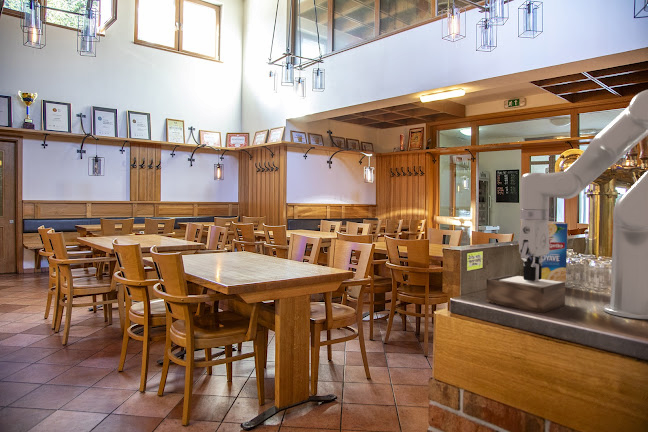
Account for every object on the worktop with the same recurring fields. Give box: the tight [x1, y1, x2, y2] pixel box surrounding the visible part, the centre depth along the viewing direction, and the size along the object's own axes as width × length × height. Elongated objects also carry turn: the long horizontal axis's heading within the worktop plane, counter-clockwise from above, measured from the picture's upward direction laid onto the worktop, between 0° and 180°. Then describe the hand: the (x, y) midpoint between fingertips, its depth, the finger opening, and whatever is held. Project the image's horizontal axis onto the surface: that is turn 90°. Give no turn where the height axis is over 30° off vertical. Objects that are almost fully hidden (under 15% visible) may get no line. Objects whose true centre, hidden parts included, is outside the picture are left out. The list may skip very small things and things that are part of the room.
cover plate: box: [499, 264, 567, 287], centre depth 131 cm, size 14×12×6 cm
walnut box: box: [485, 274, 567, 313], centre depth 129 cm, size 16×14×6 cm
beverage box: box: [528, 221, 568, 283], centre depth 156 cm, size 7×11×22 cm, turn 77°
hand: (532, 278), depth 131 cm, fingers closed on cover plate, 3 cm apart
